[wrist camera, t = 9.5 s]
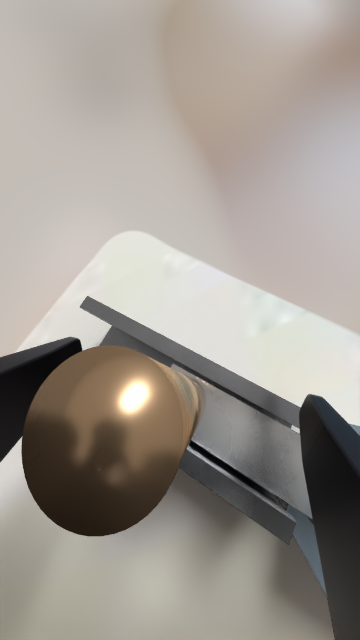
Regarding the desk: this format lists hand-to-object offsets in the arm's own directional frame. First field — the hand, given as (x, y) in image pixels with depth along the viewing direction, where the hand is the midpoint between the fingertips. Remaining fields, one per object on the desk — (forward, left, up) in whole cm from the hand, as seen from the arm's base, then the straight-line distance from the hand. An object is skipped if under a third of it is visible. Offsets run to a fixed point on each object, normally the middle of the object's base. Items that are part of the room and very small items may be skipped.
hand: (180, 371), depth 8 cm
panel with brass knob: (+3, -4, -6) cm, 8 cm away
